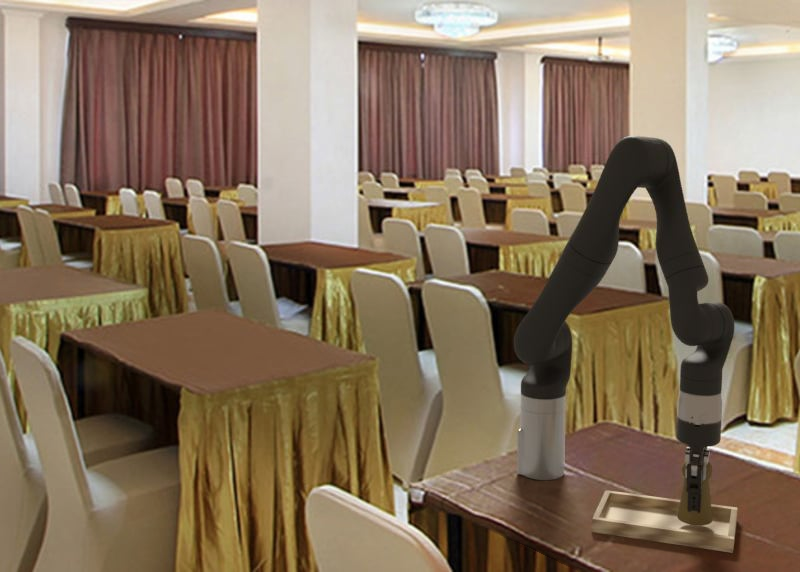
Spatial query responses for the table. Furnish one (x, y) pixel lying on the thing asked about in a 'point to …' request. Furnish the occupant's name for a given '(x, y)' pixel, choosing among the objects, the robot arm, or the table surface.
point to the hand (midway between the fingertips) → (694, 506)
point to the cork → (705, 510)
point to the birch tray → (662, 521)
